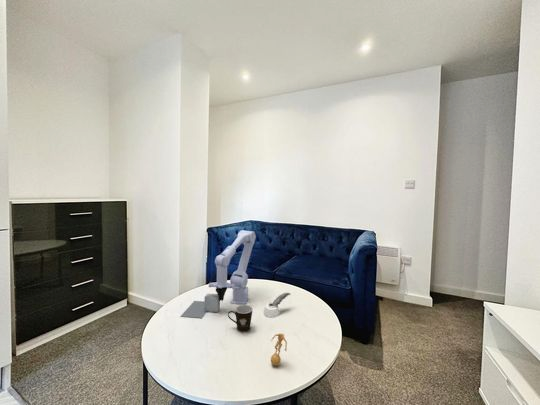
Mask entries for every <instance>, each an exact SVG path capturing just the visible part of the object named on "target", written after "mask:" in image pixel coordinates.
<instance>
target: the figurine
mask: <svg viewBox="0 0 540 405" xmlns="http://www.w3.org/2000/svg"><path fill="white" fill-rule="evenodd" d="M276 337H277V340H276V343H275V346H274V350H275V353H272V355H271V357H270V363H271V364H272V365H273V366H274V367H275V366H279V365H280V364H281V361H282V360H281V355H280V353H281V349H282V346H283V343H282V341H284V342H285V348H284V351H285V352H287V344H288V341H287V340H286V338H285V334H284V333H282V332H281V333H280V332H279V333H278V334H275V335H274V336H273V337H272V338H271V340H270V341H271V342H272V341H273V339H275V338H276ZM277 352H278V353H277Z"/></svg>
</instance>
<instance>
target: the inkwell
mask: <svg viewBox="0 0 540 405" xmlns="http://www.w3.org/2000/svg"><path fill="white" fill-rule="evenodd" d="M290 295H291V293H290V292H284V293H281V294H279V295H278V296H277V297H276V298H275V299H274V300H273V302H268V303H267V304H266V305H265V306H264V309H263V315H264V316H265V317H267V318H277V317H279V315H280V310H279V305H280V304H281V303H282V302H283V300H284V299H285V300H286V298H287V297H288V296H290Z"/></svg>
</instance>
